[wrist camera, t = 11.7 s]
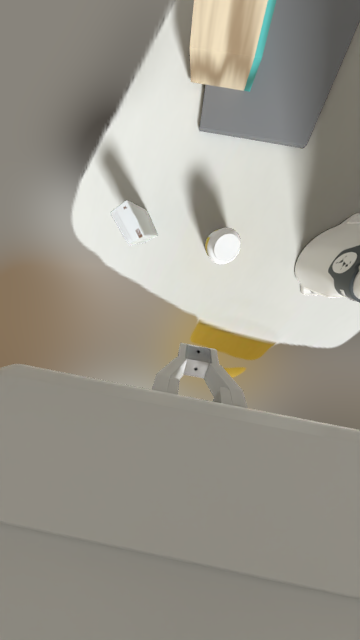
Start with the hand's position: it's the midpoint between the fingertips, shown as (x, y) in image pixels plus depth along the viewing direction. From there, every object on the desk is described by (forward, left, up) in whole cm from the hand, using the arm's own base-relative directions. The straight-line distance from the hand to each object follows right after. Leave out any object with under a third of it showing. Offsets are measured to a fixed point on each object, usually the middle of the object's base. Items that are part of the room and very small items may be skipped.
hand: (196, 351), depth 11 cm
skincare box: (+15, -8, -33) cm, 37 cm away
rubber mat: (-5, -31, -33) cm, 46 cm away
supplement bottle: (-4, -7, -33) cm, 34 cm away
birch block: (-2, -32, -30) cm, 44 cm away
